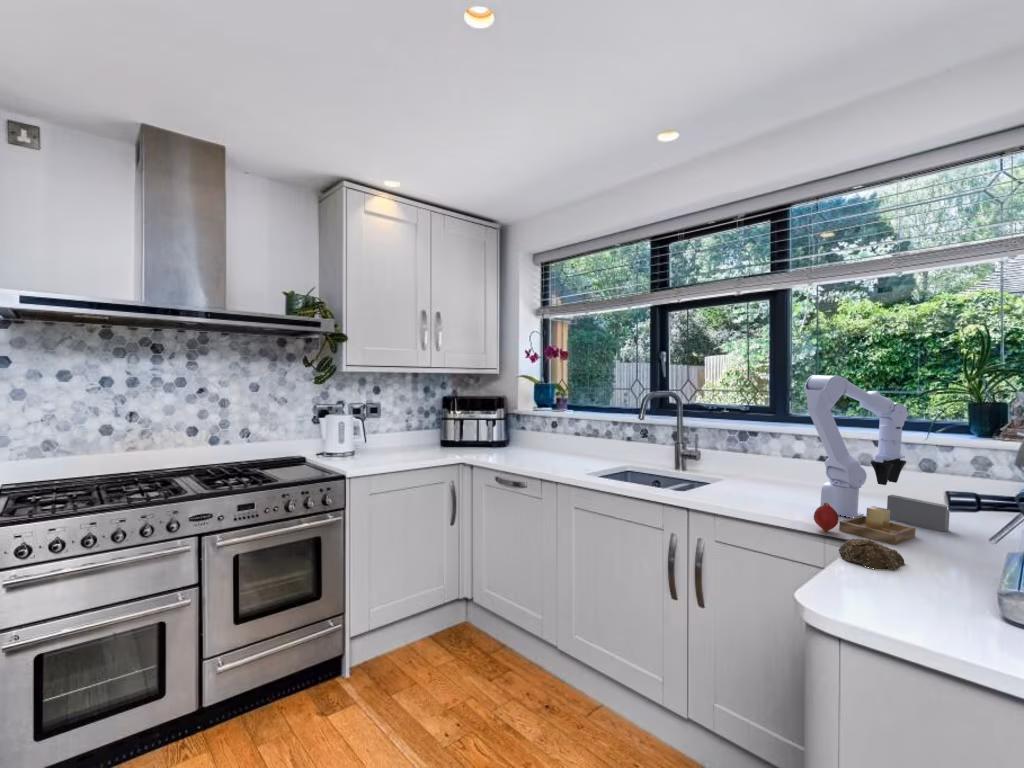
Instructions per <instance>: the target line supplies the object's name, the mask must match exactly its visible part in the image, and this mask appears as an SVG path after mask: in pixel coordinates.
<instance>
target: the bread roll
mask: <svg viewBox="0 0 1024 768" xmlns="http://www.w3.org/2000/svg"><path fill="white" fill-rule="evenodd" d="M838 553H839V555H840V558H841V557H842V558H841V559H842V560H844V561H846V562H848V561H849V562H850V563H855V564H859V565H862V566H863V567H864V566H866V567H869V568H868V569H870V568H874V569H873V570H875V569H884V570H887V569H891V570H890V571H896V570H899V569H901V567H902V565H903V566H905V559H904V557H903V556H902V555H901V554H900V553H899V552H898V550H896V549H893V548H890V547H888V546H886V545H883V544H880V543H878V542H875V541H874V540H871V538H868V539H867V538H859V537H858V538H850V539H847V540H845V542H843V543H842V544H841V545H840V547H839V549H838ZM866 567H865V568H866ZM898 568H899V569H898ZM895 569H896V570H895Z"/></svg>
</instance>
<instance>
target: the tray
mask: <svg viewBox="0 0 1024 768" xmlns="http://www.w3.org/2000/svg"><path fill="white" fill-rule="evenodd" d="M838 526H839V527H838V529H839V531H841V532H845V533H849V534H853V535H856V536H860V537H864V538H866V539H867V538H868V539H870V540H871V539H872V540H876V541H879V542H883V543H885V544H886V543H887V544H891V545H897V544H900V543H902V542H905V541H908V540H910V539H913V538H915V537H916V527H913V526H909V525H906V524H905V525H904V524H900V523H895V522H891V521H890V522H889V532H884V531H879V530H875V529H871V528H867V527H866V515H861V516H857V517H854V518H846V519H843V520H839V525H838Z"/></svg>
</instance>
